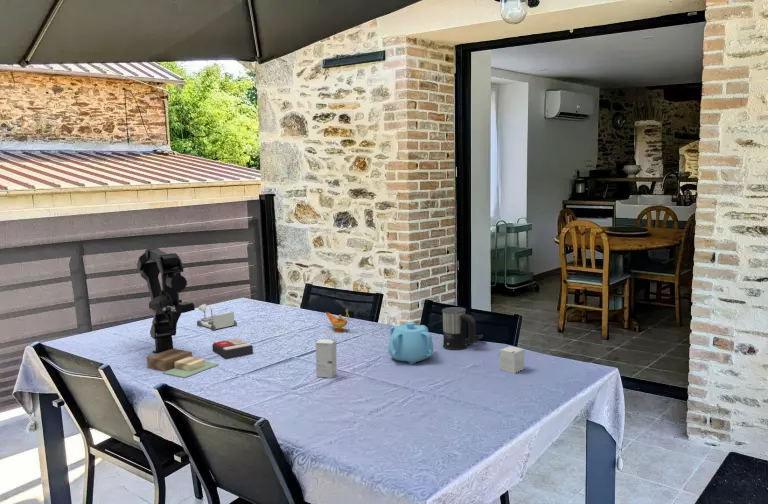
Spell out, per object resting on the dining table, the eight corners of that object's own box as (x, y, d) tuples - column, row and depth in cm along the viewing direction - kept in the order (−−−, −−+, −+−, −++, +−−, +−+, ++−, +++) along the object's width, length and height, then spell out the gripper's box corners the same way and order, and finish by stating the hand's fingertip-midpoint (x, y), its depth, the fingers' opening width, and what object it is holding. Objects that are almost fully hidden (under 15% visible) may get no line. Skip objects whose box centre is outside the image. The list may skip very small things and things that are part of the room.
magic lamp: (332, 325, 283) (331, 301, 281) (356, 332, 269) (355, 307, 267) (319, 328, 278) (318, 303, 277) (343, 335, 264) (342, 310, 263)
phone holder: (192, 304, 289) (215, 300, 297) (194, 325, 290) (216, 321, 298) (213, 310, 276) (236, 305, 284) (214, 332, 277) (237, 327, 286)
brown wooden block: (147, 367, 228) (146, 357, 227) (173, 358, 238) (173, 348, 238) (166, 371, 223) (165, 360, 222) (192, 362, 233) (191, 351, 233)
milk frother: (439, 348, 242) (438, 311, 240) (451, 338, 256) (450, 302, 254) (475, 352, 236) (475, 313, 234) (485, 341, 251) (485, 304, 249)
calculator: (238, 337, 254) (252, 343, 241) (239, 347, 254) (253, 354, 242) (211, 342, 248) (225, 348, 235) (212, 352, 248) (226, 360, 236)
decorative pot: (433, 352, 238) (433, 317, 236) (433, 365, 222) (432, 328, 220) (390, 352, 239) (389, 317, 237) (387, 365, 223) (386, 328, 222)
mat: (162, 373, 221) (162, 372, 221) (197, 360, 235) (197, 359, 235) (184, 378, 215) (184, 377, 215) (218, 364, 229) (218, 363, 229)
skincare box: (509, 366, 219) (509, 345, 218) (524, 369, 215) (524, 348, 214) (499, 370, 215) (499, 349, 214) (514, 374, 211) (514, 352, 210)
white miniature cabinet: (315, 377, 213) (314, 342, 211) (321, 372, 217) (319, 338, 216) (332, 378, 211) (331, 343, 210) (337, 374, 215) (336, 339, 214)
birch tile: (174, 368, 225) (174, 361, 225) (189, 362, 231) (189, 356, 231) (190, 371, 221) (190, 364, 221) (205, 365, 227) (205, 359, 227)
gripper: (135, 289, 232) (138, 330, 234) (170, 293, 222) (173, 336, 224) (159, 284, 241) (162, 323, 243) (194, 287, 232) (197, 328, 234)
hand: (173, 328), depth 236 cm, fingers closed
